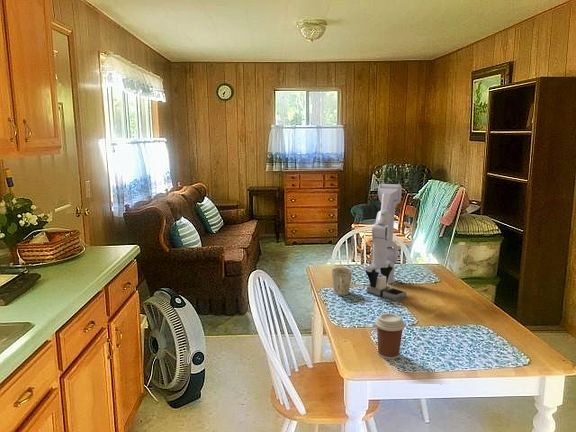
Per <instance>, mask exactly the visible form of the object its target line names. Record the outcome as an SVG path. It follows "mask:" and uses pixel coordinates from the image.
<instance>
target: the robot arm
mask: <svg viewBox="0 0 576 432" xmlns="http://www.w3.org/2000/svg"><path fill="white" fill-rule="evenodd" d="M402 192H403V186H402V185H401V183H399V184H394V183H392V184H390V183H379V184H378V187H377V196H378V200H379V202H380V203H381V204H380V210H379V211H378V212H377V213H376V218H375V223H374V225H372V227H371V238H372V239H371V240H372V241H371V242H372V263H371V264H369V265H368V266H366V269H365V273H366V275H367V279H368V281H369V284H370V285H369V286H371V287H373V288H375V287H376V283H377V277H378V275H379V274H383V276H386V285H387V284H388V285H389V284H392V283H393V282H396V281H398V279H397V278H395V263H397V262H398V259H399V246H398V244H397V243H396V242H394V239H393V238H394V225H395V224H394V223H395V214H396V207H397V205H398V204H400V203H401V201H402V194H403V193H402Z"/></svg>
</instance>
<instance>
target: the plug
mask: <svg viewBox="0 0 576 432" xmlns="http://www.w3.org/2000/svg"><path fill="white" fill-rule="evenodd" d="M386 286H387V284H386V276H383V274H379V275H378V277H377V283H376V287H375V289H378V290H382V289H384V288H386ZM372 288H373V287H372Z"/></svg>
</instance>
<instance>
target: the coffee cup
mask: <svg viewBox="0 0 576 432" xmlns="http://www.w3.org/2000/svg"><path fill="white" fill-rule="evenodd" d="M377 317H378V318H376V319H375V321H374V326H375V327H376V330H377V331H376V332H377V333H376V335H377V355H378V356H379V357H381V358H382V359H387V360H394V359H398V358H399V357H400V353H401V352H400V351H401V344H402V343H401V342H402V335H403V330H404V329H405V328H406V323H405V321H403V317H401V316H400V315H398V314H395V313H390V312H389V313H386V312H385V313H381V314H380V315H378V316H377Z"/></svg>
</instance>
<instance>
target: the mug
mask: <svg viewBox="0 0 576 432" xmlns="http://www.w3.org/2000/svg"><path fill="white" fill-rule="evenodd" d="M352 271H353V270H352V269H350V268H348V267H347V268H346V267H335V268H333V269H332V270H331V276H332V285H333V293H334V294H335V295H340V296H345V295H349V292H350V288H351V281H352V274H353V272H352Z"/></svg>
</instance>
